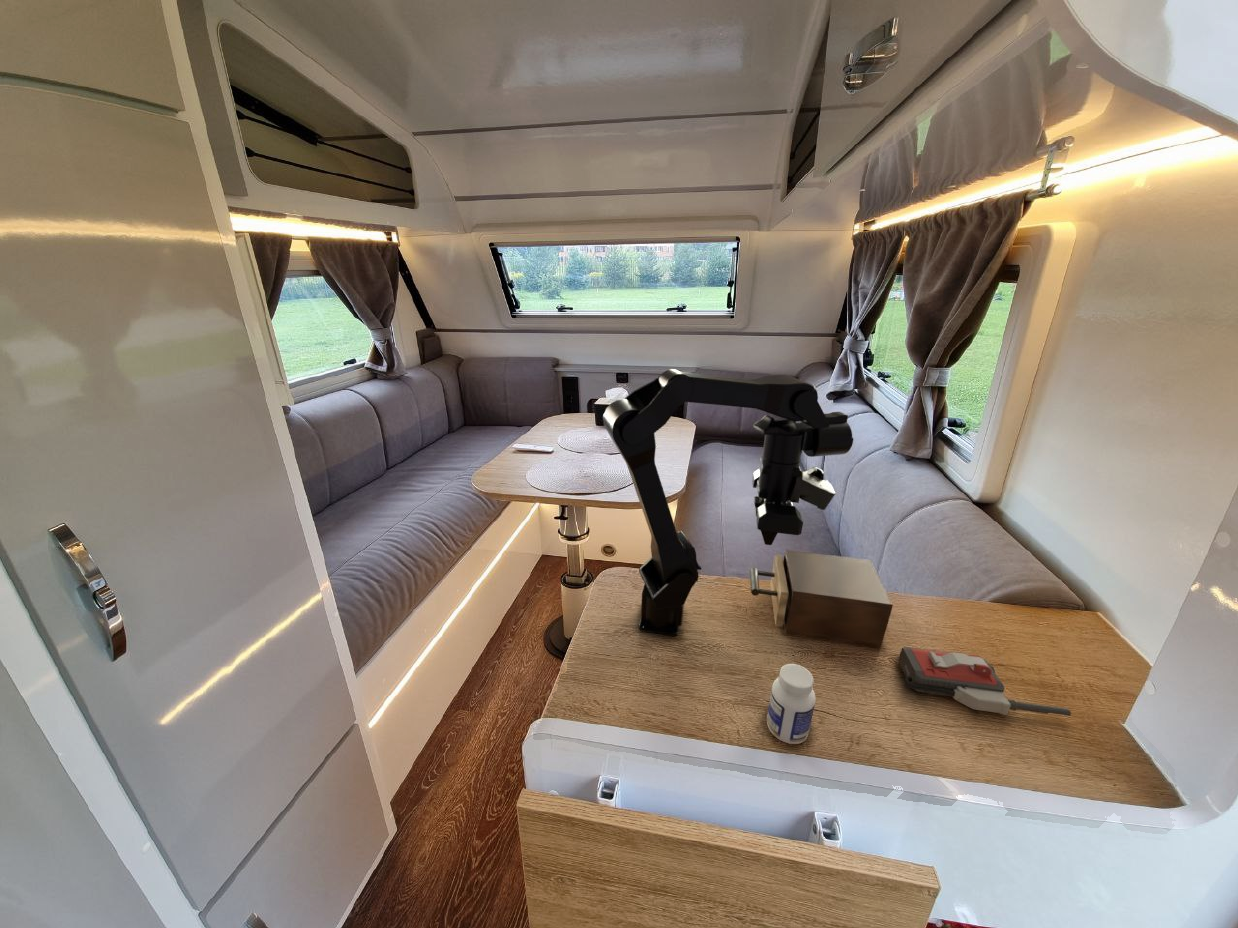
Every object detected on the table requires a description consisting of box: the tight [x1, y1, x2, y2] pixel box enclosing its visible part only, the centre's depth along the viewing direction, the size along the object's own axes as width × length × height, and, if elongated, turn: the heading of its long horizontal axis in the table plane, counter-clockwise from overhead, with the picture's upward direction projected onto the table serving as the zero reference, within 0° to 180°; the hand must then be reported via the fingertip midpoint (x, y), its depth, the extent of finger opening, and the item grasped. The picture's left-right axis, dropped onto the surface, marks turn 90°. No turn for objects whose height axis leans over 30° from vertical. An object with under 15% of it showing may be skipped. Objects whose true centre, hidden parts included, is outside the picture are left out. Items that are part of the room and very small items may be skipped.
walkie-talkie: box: [897, 646, 1072, 717], centre depth 67 cm, size 9×4×20 cm
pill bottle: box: [766, 663, 817, 745], centre depth 60 cm, size 5×5×9 cm
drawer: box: [749, 554, 792, 627], centre depth 82 cm, size 18×11×7 cm, turn 78°
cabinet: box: [782, 549, 894, 650], centre depth 81 cm, size 15×13×9 cm
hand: (768, 543), depth 80 cm, fingers closed
